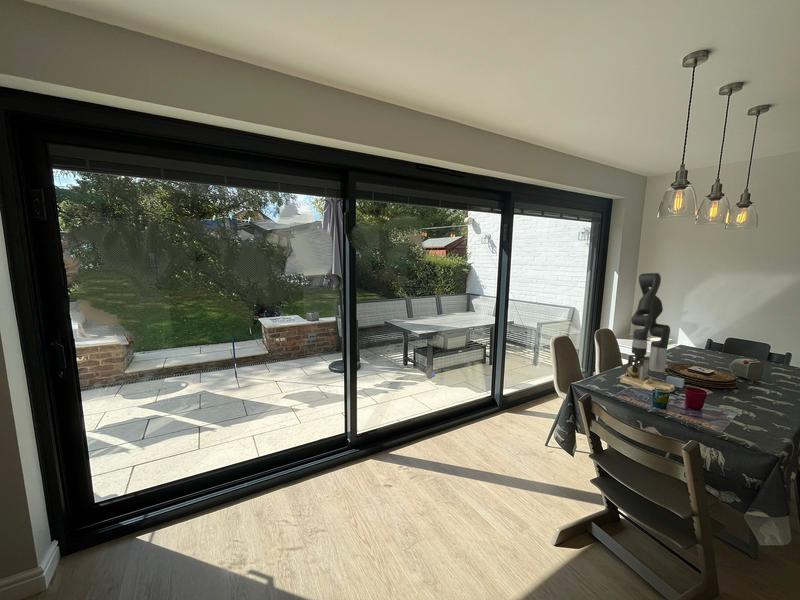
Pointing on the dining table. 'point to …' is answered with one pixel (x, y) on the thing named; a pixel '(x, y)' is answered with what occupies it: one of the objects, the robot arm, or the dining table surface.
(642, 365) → the coffee box
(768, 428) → the dining table surface
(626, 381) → the jig
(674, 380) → the wing block
